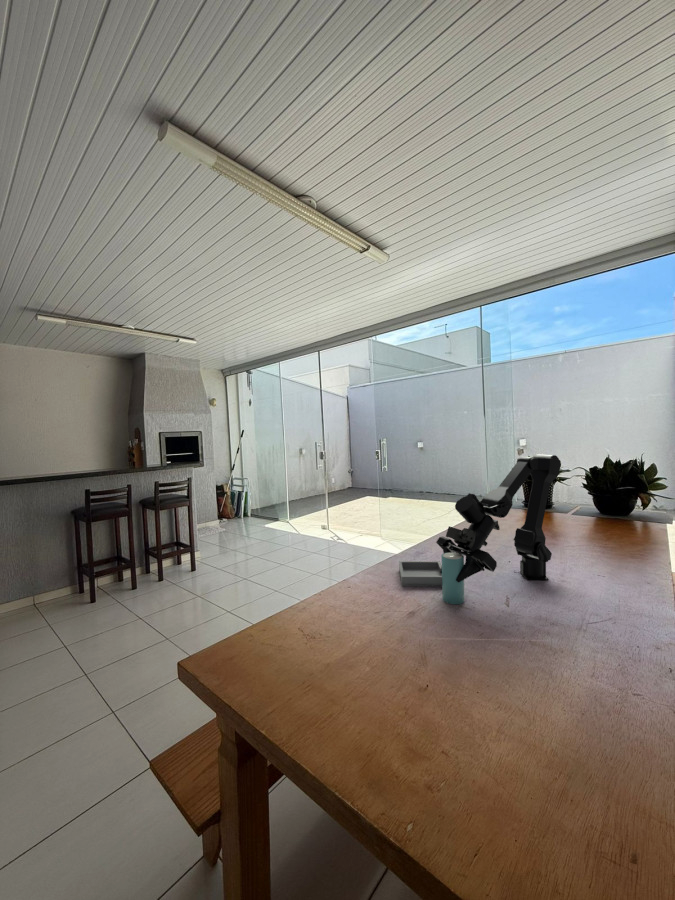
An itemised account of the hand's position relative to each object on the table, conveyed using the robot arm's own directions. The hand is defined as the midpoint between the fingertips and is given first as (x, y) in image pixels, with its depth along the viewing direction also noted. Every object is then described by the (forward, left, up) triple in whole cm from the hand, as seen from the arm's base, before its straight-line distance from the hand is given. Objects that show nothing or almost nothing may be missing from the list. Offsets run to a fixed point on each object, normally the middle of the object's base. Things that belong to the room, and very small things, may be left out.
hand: (449, 577), depth 108 cm
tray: (+6, -16, -7) cm, 19 cm away
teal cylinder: (-1, -1, -7) cm, 7 cm away
